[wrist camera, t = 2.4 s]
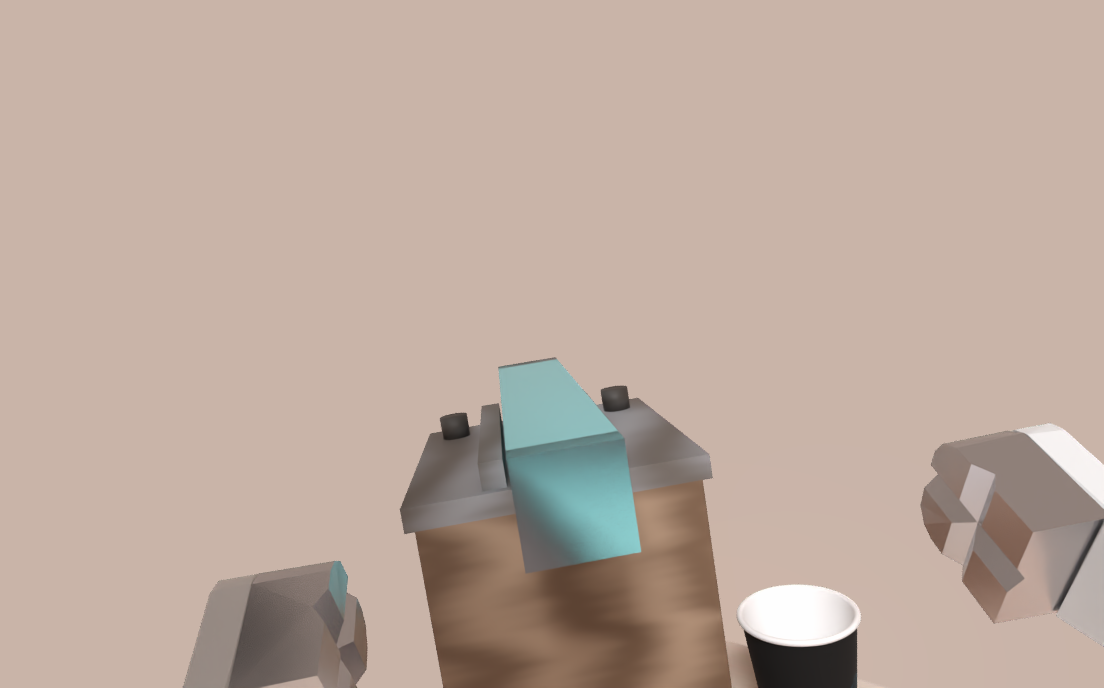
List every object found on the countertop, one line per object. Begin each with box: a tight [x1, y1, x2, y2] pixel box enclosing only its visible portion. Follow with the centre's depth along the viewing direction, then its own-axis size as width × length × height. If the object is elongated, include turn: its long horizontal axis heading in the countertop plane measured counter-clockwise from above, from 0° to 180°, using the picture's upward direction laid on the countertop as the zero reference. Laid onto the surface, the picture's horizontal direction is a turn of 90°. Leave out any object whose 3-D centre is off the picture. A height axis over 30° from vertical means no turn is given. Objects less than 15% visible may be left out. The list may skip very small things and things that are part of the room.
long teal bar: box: [499, 358, 641, 574], centre depth 37 cm, size 4×26×4 cm, turn 5°
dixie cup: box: [737, 585, 861, 688], centre depth 49 cm, size 8×8×11 cm
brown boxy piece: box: [400, 386, 732, 688], centre depth 44 cm, size 15×17×27 cm
